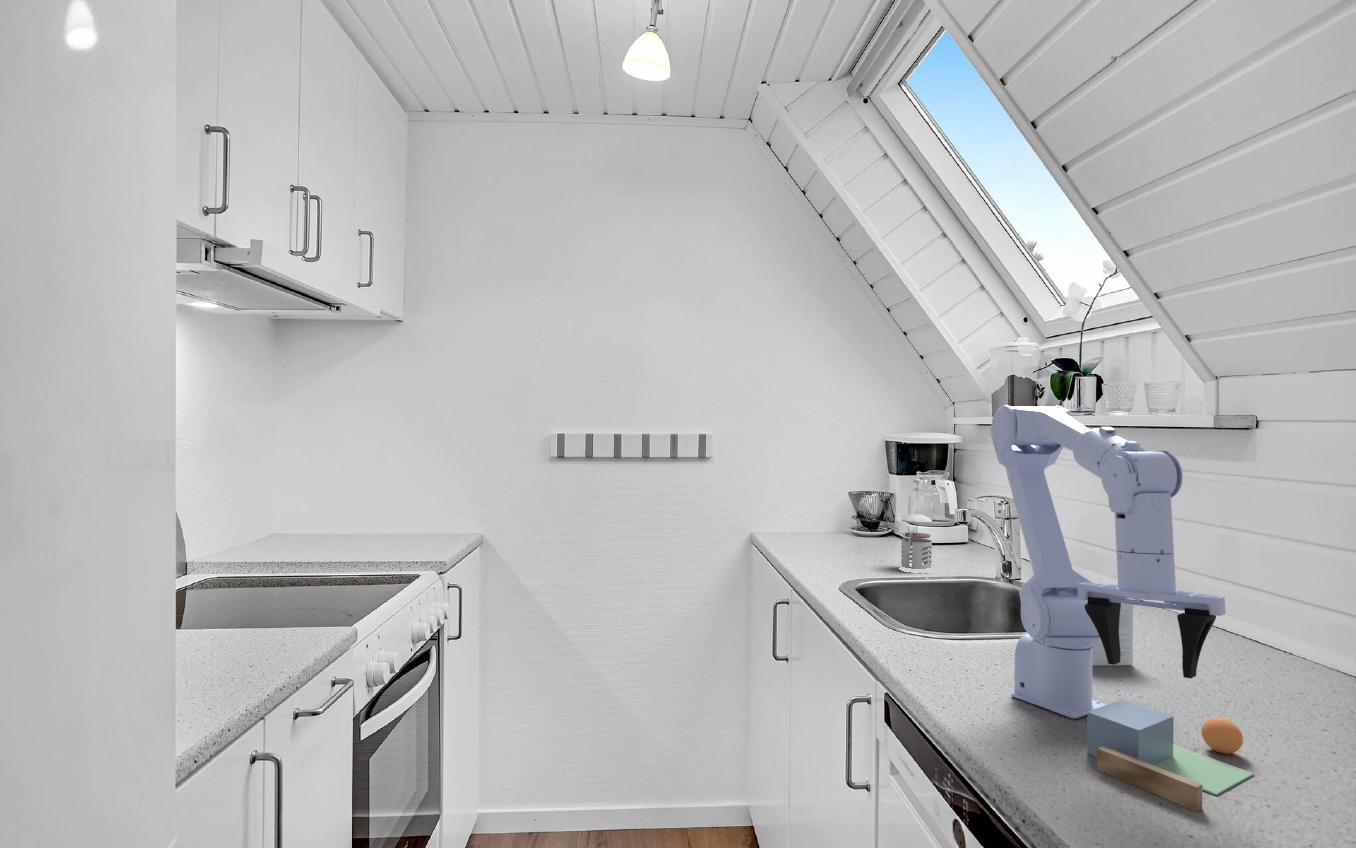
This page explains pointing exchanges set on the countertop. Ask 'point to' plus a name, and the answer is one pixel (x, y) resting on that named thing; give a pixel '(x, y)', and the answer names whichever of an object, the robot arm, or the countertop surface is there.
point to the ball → (1222, 735)
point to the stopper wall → (1150, 778)
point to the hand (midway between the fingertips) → (1150, 669)
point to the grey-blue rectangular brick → (1131, 731)
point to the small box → (1124, 639)
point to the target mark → (1204, 770)
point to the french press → (916, 542)
